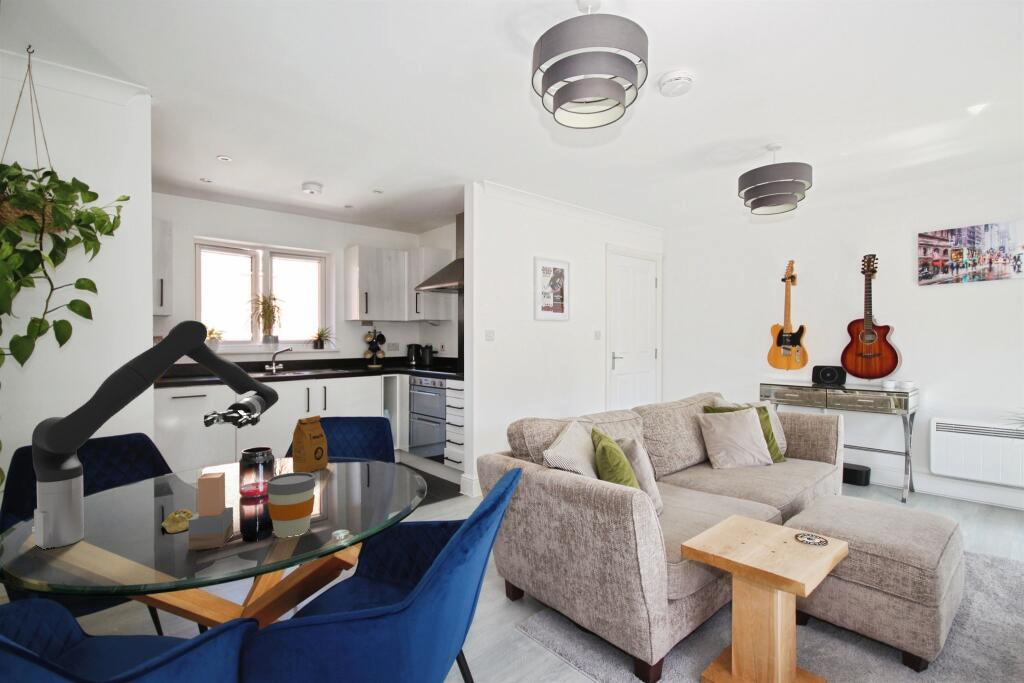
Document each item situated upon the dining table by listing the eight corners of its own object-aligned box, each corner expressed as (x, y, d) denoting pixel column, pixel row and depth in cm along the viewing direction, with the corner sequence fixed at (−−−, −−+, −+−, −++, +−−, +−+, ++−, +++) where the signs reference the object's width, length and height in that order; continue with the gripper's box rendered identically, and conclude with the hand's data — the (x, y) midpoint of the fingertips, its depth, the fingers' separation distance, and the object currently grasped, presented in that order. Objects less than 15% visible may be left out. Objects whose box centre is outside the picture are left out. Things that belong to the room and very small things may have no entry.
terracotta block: (219, 515, 132) (219, 477, 132) (198, 517, 131) (197, 478, 131) (225, 508, 137) (224, 472, 137) (204, 510, 136) (204, 473, 136)
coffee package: (331, 468, 208) (330, 415, 208) (306, 476, 197) (305, 419, 197) (314, 465, 213) (314, 413, 213) (289, 473, 202) (288, 418, 202)
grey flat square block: (223, 532, 131) (222, 517, 131) (188, 535, 129) (188, 519, 129) (233, 521, 139) (233, 507, 139) (201, 524, 137) (200, 509, 137)
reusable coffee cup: (268, 527, 144) (268, 474, 144) (315, 520, 149) (315, 470, 149) (265, 543, 133) (264, 487, 133) (316, 536, 137) (315, 481, 137)
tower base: (222, 548, 131) (222, 532, 131) (188, 550, 129) (188, 535, 129) (233, 536, 139) (233, 521, 139) (201, 538, 137) (201, 523, 137)
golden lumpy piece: (200, 507, 144) (158, 513, 140) (200, 528, 143) (157, 536, 138) (203, 505, 154) (164, 511, 149) (204, 526, 153) (164, 532, 148)
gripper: (220, 398, 159) (196, 410, 143) (268, 400, 161) (249, 412, 145) (219, 422, 159) (195, 436, 143) (267, 424, 161) (248, 438, 145)
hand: (222, 424), depth 144 cm, fingers open, 8 cm apart
